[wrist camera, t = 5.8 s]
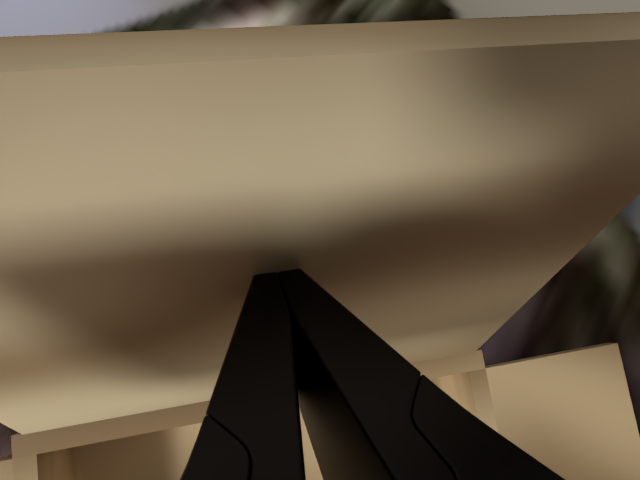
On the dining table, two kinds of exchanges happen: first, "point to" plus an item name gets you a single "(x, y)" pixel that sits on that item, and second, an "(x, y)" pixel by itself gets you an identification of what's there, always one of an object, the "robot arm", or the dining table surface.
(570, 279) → the dining table surface
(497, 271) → the flap
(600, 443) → the open box
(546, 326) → the dining table surface
